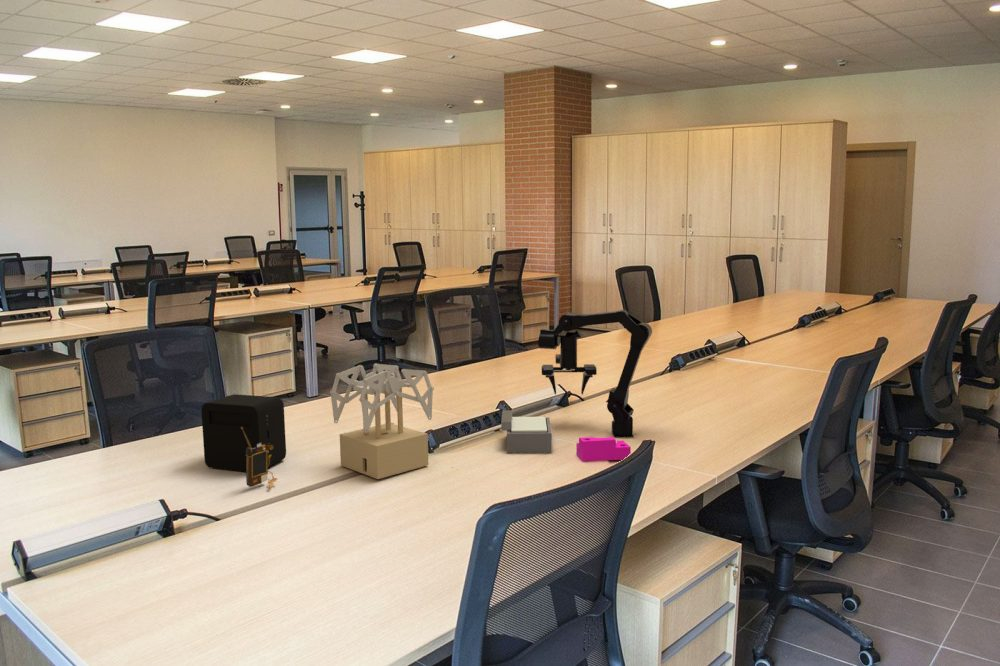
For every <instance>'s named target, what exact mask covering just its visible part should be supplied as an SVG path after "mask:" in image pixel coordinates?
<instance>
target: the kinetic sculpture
mask: <svg viewBox="0 0 1000 666" xmlns="http://www.w3.org/2000/svg"><path fill="white" fill-rule="evenodd" d="M372 368H373V369H372V371H371V372H369V373H366V370H365V368H364V366H363V365H362V364H359V365H357V366H353V367H352V368H348V369H346V370H343V371H341V372H337V373H336V374H335V379H334V381H333V384H332V389H331V390H330V391H329V394H330V399H331V407H332V408H331V409H332V413H333V414H332V416H333V422H334V424H338V422H339V420H340V417H341V415H342V413H343V410H344V408H345V405H346V404H349V403H350V402H351V401H352V400H354V399H356V398H357V397H359V396H360V397H359V400H358V401H359V402H360V403H361V404H360V405H361V412H362V422H363V424H362V426H363V428H362V429H361V428H360V429H357V430H353V431H348V432H347V431H346V432H343V433H339V452H340V454H339V455H340V466H341V467H344V468H347V469H349V470H352V471H355V472H357V473H360V474H363V475H366V476H368V477H371V478H373V479H376V480H379V479H384V478H387V477H391V476H394V475H397V474H398V475H399V474H402V473H406V472H409V471H413V470H416V469H420V468H423V467H426V466H429V434H428V433H426V432H423V431H420V430H416V429H412V428H409V427H406V426H405V427H404V417H403V415H404V414H403V413H404V412H403V410H404V409H403V398H404V399H406V400H409V401H410V400H411V401H414V402H417V403H419V404H420V405H421V407H422V410H423V412H424V413H425V416H426V418H427V419H428V421H431V420H432V418H433V417H432V416H433V393H434V392H433V391H434V390H435V389H434V387H433V386H432V384H431V381H430V378H429V375H428V372H427V371H426V370H419V369H409V368H408V369H407V368H402V369H401V371H399V366H398V365H394V364H383V363H374V364H373V366H372ZM400 372H401V373H402V375H403V377H404V378H405V379H402V376H401V373H400ZM360 373H361V376H362V378H363V380H357V379H358V377H359V375H360ZM350 375H352V376H351V378H350V377H349V376H350ZM412 376H415V378H414V379H413V378H412ZM423 378H424V381H425V384H426V387H427V390H425V392H424V393H423V395H421V394H420V392H419V390H418V387H417V385H418V383H419V382H420V381H421V380H422V379H423ZM340 380H341V381H342V382H344V383H345V384H347V385H348V386H347V389H346V391H345V394H344V396H342V395H341V394H340V393H338V392H337V388H338V386H339V382H340ZM352 388H353V391H355V392H354V393H353V394H351V391H352ZM403 388H412V390H413V393H414V395H415V396H414V395H411V394H409V393H408V394H407V393H406V392H405V393H404V392H403ZM350 394H351V395H350ZM381 394H384V398H383V399H381ZM369 395H372V396H373V395H374V396H373V397H374V399H373V401H372V402H370V401H369V397H368V396H369ZM426 400H427V403H426ZM338 402H340V403H339V405H338ZM391 403H392V405H393V407H394V409H395V411H396V412H397V424H394V422H391V417H392V416H391ZM383 405H384V412H385V415H384V416H385V419H384V420H385V422H384V424H381V419H382V418H381V407H382V406H383ZM369 411H370V412H369ZM374 419H375V420H374ZM373 420H374V424H375V425H374V426H371V425H372V422H373Z"/></svg>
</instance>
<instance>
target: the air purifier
mask: <svg viewBox="0 0 1000 666" xmlns="http://www.w3.org/2000/svg"><path fill="white" fill-rule="evenodd" d="M200 410H201V422H202V423H201V424H202V438H203V439H202V441H203V454H204V455H203V456H204V457H203V458H204V463H205V464H206V466H207V467H209V468H210V467H212V468H211V469H216V468H218V469H217V470H225V469H227V471H237V472H245V473H246V449H247V448H248V447H249V445H248V443H247V441H246V438H245V435H244V433H245V434H246V436H247V439H248V440H249V443H250V445H251V447H253V446H254V447H256V446H257V444H259V443H261V445H262V444H265V445H272V446H273V449H272V450H270V449H268V456H269V455H271V457H270V462H269V467H271V466H273V465H275V464H277V463H279V462H282V461H283V460H285V458H286V456H287V444H286V443H287V441H286V424H285V420H286V419H285V405H284V401H283V400H282V399H281V398H280V397H277V396H267V395H265V396H264V395H249V394H235V393H233V394H231V395H227V396H224V397H221V398H218V399H214V400H210V401H208V402H205V403H203V404H202V406H201V408H200ZM241 427H243V430H244V432H243V430H242V429H241Z"/></svg>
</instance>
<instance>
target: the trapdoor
mask: <svg viewBox="0 0 1000 666" xmlns="http://www.w3.org/2000/svg"><path fill="white" fill-rule="evenodd" d="M501 414H502V415H501V422H500V424H501V425H500V428H501V430H500V431H504V432H505V431H506V432H507V431H511V432H547V426H546V418H545V417H546V416H513V410H510V409H509V410H504V409H503V410H502V412H501Z"/></svg>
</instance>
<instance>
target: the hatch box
mask: <svg viewBox="0 0 1000 666" xmlns="http://www.w3.org/2000/svg"><path fill="white" fill-rule="evenodd" d="M544 417H545V418H546V426H547V432H511V431H506V453H507V454H553V453H552V452H553V451H552V449H553V447H552V441H553V440H552V439H553V438H552V437H553V435H552V433H553V432H552V426H551V420H550V419H551V418H550V416H549V417H546V416H544Z"/></svg>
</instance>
